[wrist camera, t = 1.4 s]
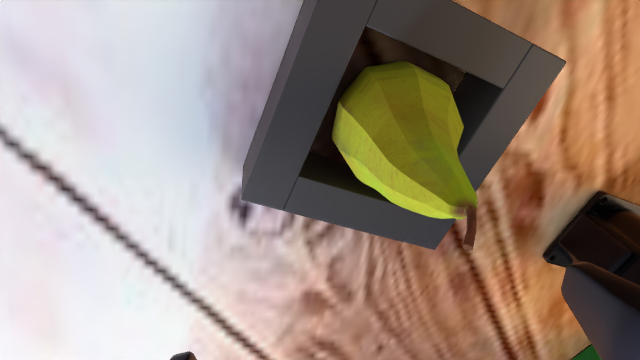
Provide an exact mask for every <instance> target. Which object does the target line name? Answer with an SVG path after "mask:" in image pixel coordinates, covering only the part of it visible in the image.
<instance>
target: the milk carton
mask: <svg viewBox="0 0 640 360" xmlns="http://www.w3.org/2000/svg"><path fill="white" fill-rule="evenodd" d="M572 360H602V359H601V357H600V356H599V354H598V353H597V351H596V350H595V348H594V347H593V345H591V346H589V347H588V348H587V349H585V350H584V351H583V352H581V353H580V354H579V355H577V356H576V357H575V358H573V359H572Z"/></svg>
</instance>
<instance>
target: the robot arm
mask: <svg viewBox="0 0 640 360" xmlns="http://www.w3.org/2000/svg"><path fill="white" fill-rule="evenodd" d="M543 258H544V260H545V261H546V262H548V263H551V264H555V265H558V266H562V267H565V268H566V271H565V275H564V279H563V283H562V287H561V291H562V295H563V297H564V299H565V301H566V303H567V304H568V306H569V308H570V309H571V311H572V312H573V314H574V316H575V317H576V319H577V321H578V322H579V324H580V325H581V327H582V329H583V330H584V332H585V334H586V335H587V337H588V339H589V340H590V342H591V343H592V345H593V347H594V348H595V350H596V351H597V353H598V354H599V356H600V357H601V359H602V360H640V205H637V204H635V203H632V202H629V201H627V200H624V199H622V198H619V197H617V196H614V195H611V194H609V193H606V192H603V191H602V192H599V193H597V194H596V195H595V196H594V197H593V198H592V199H591V200H590V201H589V202H588V204H587V205H586V206H585V207H584V208H583V209H582V210H581V212H580V213H579V214H578V215H577V216H576V217H575V218H574V220H573V221H572V222H571V223H570V224H569V225H568V226H567V228H566V229H565V230H564V231H563V232H562V233H561V234H560V236H559V237H558V238H557V239H556V240H555V241H554V242H553V244H552V245H551V246H550V247H549V248H548V249H547V250H546V252H545V253H544V254H543ZM170 360H197V359H196V357H195V356H194V354H193V353H192V352H190V351H189V352H184V353H180V354H176V355H174V356H173V357H172V358H171V359H170Z"/></svg>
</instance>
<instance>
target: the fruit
mask: <svg viewBox="0 0 640 360" xmlns="http://www.w3.org/2000/svg"><path fill="white" fill-rule="evenodd" d="M463 128H464V126H463V123H462V120H461V117H460V115H459V112H458V109H457V107H456V104H455V101H454V98H453V96H452V93H451V90H450V87H449V85H448V84H447V83H445V82H444V81H443V80H442V79H440V78H439V77H437V76H435V75H433V74H431V73H429V72H427V71H425V70H423V69H421V68H419V67H417V66H415V65H413V64H411V63H409V62H407V61H397V62H392V63H386V64H381V65H376V66H370V67H365V68H364V70H363V71H362V72H361V73H360V74H359V75H358V77H357V78H356V79H355V80H354V81H353V82H352V84H351V85H350V86H349V87H348V88H347V89H346V91H345V92H344V93H343V94H342V95H341V96H340V98H339V102H338V107H337V112H336V116H335V121H334V125H333V130H332V140H333V141H334V143H335V144H336V146H337V147H338V149H339V151H340V152H341V154H342V155H343V157H344V159H345V160H346V162H347V163H348V165H349V166H350V168H351V170H352V171H353V173H354V174H355V176H356V177H357V178H358V179H359V180H360V181H361V182H363V183H364V184H366V185H368V186H370V187H372V188H374V189H376V190H377V191H378V192H380V193H381V194H382V195H383V196H384V197H386V198H387V199H388V200H389V201H391V202H392V203H394V204H396V205H398V206H400V207H403V208H405V209H408V210H410V211H413V212H416V213H419V214H422V215H425V216H428V217H434V218H440V219H446V218H455V219H459V220H460V219H463V218H466V217H467V232H466V236H465V239H464V243H463V248H464V249H465V250H468V251H470V250H473V246H474V240H475V234H476V209H477V195H476V193H475V191H474V189H473V187H472V185H471V183H470V182H469V180H468V178H467V175H466V173H465V171H464V169H463V167H462V165H461V163H460V161H459V159H458V154H457V147H458V144H459V140H460V137H461V134H462V131H463Z"/></svg>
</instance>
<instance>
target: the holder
mask: <svg viewBox="0 0 640 360" xmlns="http://www.w3.org/2000/svg"><path fill="white" fill-rule="evenodd" d="M365 25H366V26H368V27H370V28H372V29H374V30H376V31H378V32H381V33H383V34H385V35H387V36H389V37H391V38H394V39H396V40H398V41H400V42H402V43H404V44H407V45H409V46H411V47H413V48H415V49H418V50H420V51H422V52H424V53H426V54H428V55H431V56H433V57H435V58H437V59H439V60H441V61H444V62H446V63H448V64H450V65H452V66H455V67H457V68H459V69H461V70H463V71H465V72H467V73H466V75H465V77H464V78H463V80H462V82H461V83H460V85H459V87H458V88H457V90H456V92H455V93H454V95H453V98H454V101H455V104H456V107H457V109H458V112H459V115H460V117H461V120H462V123H463V126H464V128H463V131H462V134H461V137H460V140H459V144H458V147H457V154H458V159H459V161H460V163H461V165H462V167H463V169H464V171H465V173H466V175H467V178H468V180H469V182H470V183H471V185H472V187H473V189H474V191H475V192H476V190H477V189H478V188H479V186H480V185H481V183H482V182H483V180H484V179H485V178H486V176H487V175H488V173H489V172H490V171H491V169H492V168H493V166H494V165H495V163H496V162H497V161H498V159H499V158H500V156H501V155H502V153H503V152H504V151H505V149H506V148H507V146H508V145H509V144H510V142H511V141H512V139H513V138H514V136H515V135H516V134H517V132H518V131H519V129H520V128H521V126H522V125H523V124H524V122H525V121H526V119H527V118H528V117H529V115H530V114H531V112H532V111H533V109H534V108H535V107H536V105H537V104H538V102H539V101H540V99H541V98H542V97H543V95H544V94H545V92H546V91H547V90H548V88H549V87H550V85H551V84H552V82H553V81H554V80H555V78H556V77H557V75H558V74H559V72H560V71H561V70H562V68H563V67H564V65H565V64H566V61H565V60H563V59H561V58H559V57H558V56H556V55H554V54H552V53H550V52H548V51H546V50H544V49H542V48H541V47H539V46H537V45H535V44H533V43H531V42H529V41H527V40H526V39H524V38H522V37H520V36H518V35H516V34H514V33H512V32H510V31H508V30H507V29H505V28H503V27H501V26H499V25H497V24H495V23H493V22H491V21H490V20H488V19H486V18H484V17H482V16H480V15H478V14H476V13H474V12H472V11H471V10H469V9H467V8H465V7H463V6H461V5H459V4H457V3H455V2H454V1H452V0H304V2H303V4H302V7H301V10H300V12H299V15H298V18H297V21H296V23H295V26H294V29H293V32H292V34H291V37H290V40H289V43H288V45H287V48H286V51H285V53H284V56H283V59H282V62H281V64H280V67H279V70H278V73H277V75H276V78H275V81H274V83H273V86H272V89H271V92H270V94H269V97H268V100H267V103H266V105H265V108H264V111H263V113H262V116H261V119H260V122H259V124H258V127H257V130H256V133H255V135H254V138H253V141H252V144H251V146H250V149H249V152H248V154H247V157H246V160H245V163H244V165H243V180H242V198H241V199H242V200H244V201H248V202H251V203H255V204H259V205H263V206H267V207H271V208H274V209H278V210H283V211H286V212H289V213H293V214H297V215H301V216H305V217H309V218H312V219H316V220H320V221H324V222H328V223H332V224H336V225H339V226H343V227H347V228H351V229H355V230H359V231H363V232H366V233H370V234H374V235H378V236H382V237H386V238H390V239H393V240H397V241H401V242H406V243H410V244H414V245H418V246H421V247H425V248H429V249H433V250H435V249H436V247H437V246H438V244H439V243H440V242H441V240H442V239H443V237H444V236H445V234H446V233H447V232H448V230H449V229H450V227H451V226H452V225H453V223H454V222H455V220H456V219H455V218H446V219H440V218H434V217H428V216H425V215H422V214H419V213H416V212H413V211H410V210H408V209H405V208H403V207H400V206H398V205H396V204H394V203H392V202H391V201H389V200H388V199H387V198H386V197H384V196H383V195H382V194H381V193H380V192H378V191H377V190H376V189H374V188H372V187H370V186H368V185H366V184H364V183H363V182H361V181H360V180H359V179H358V178H357V177H356V176H355V174H354V173H353V171H352V170H351V168H350V166H349V165H348V163H346V162H343V161H339V160H336V159H333V158H330V157H327V156H324V155H321V154H318V153H315V152H311V151H310V148H311V146H312V144H313V142H314V139H315V137H316V135H317V133H318V130H319V128H320V126H321V124H322V121H323V119H324V117H325V115H326V112H327V110H328V108H329V106H330V104H331V101H332V99H333V97H334V95H335V92H336V90H337V88H338V86H339V83H340V81H341V79H342V77H343V74H344V72H345V70H346V68H347V65H348V63H349V61H350V59H351V56H352V54H353V52H354V50H355V47H356V45H357V43H358V41H359V39H360V36H361V34H362V32H363V30H364V27H365Z"/></svg>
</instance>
